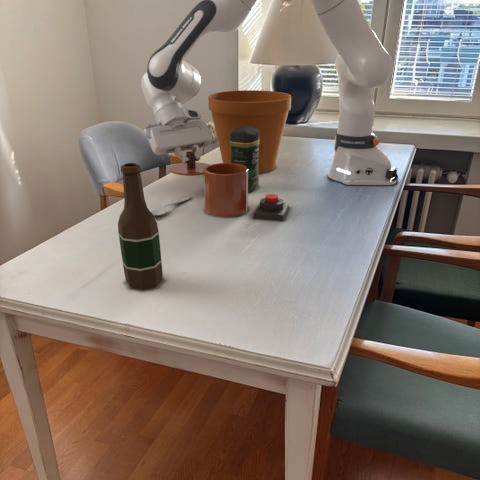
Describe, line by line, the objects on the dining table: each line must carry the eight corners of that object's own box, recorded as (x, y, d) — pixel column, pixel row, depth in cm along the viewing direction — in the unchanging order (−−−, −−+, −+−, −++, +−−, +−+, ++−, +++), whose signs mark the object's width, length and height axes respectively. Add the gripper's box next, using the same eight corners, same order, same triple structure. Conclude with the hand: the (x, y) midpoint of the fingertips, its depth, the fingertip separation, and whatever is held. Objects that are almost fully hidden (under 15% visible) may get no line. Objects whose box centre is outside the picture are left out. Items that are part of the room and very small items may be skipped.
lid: (217, 167, 151) (217, 148, 148) (206, 179, 140) (205, 159, 137) (178, 164, 154) (176, 146, 150) (163, 176, 143) (162, 156, 140)
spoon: (144, 218, 131) (143, 212, 130) (183, 196, 147) (182, 191, 146) (156, 220, 130) (156, 215, 129) (194, 198, 146) (194, 192, 145)
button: (266, 199, 135) (266, 193, 134) (279, 200, 134) (279, 194, 133) (264, 204, 132) (264, 197, 131) (277, 204, 131) (277, 198, 130)
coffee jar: (249, 194, 148) (250, 131, 138) (226, 191, 151) (225, 128, 141) (262, 186, 156) (263, 125, 146) (240, 183, 159) (240, 123, 149)
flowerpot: (202, 175, 166) (199, 101, 153) (219, 155, 189) (218, 89, 177) (283, 179, 162) (287, 103, 149) (291, 158, 185) (294, 91, 172)
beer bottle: (127, 274, 103) (111, 159, 91) (164, 272, 104) (153, 158, 91) (123, 291, 97) (105, 171, 84) (162, 290, 97) (150, 170, 85)
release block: (261, 205, 140) (261, 193, 138) (288, 207, 138) (289, 195, 137) (253, 218, 131) (253, 206, 129) (282, 221, 129) (283, 208, 128)
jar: (251, 204, 141) (251, 164, 135) (242, 218, 131) (242, 176, 125) (211, 201, 143) (210, 162, 137) (200, 215, 133) (198, 173, 127)
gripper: (144, 118, 138) (165, 160, 137) (203, 111, 149) (223, 149, 147) (139, 132, 143) (158, 173, 142) (196, 124, 154) (215, 161, 153)
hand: (192, 161), depth 145 cm, fingers closed on lid, 2 cm apart
